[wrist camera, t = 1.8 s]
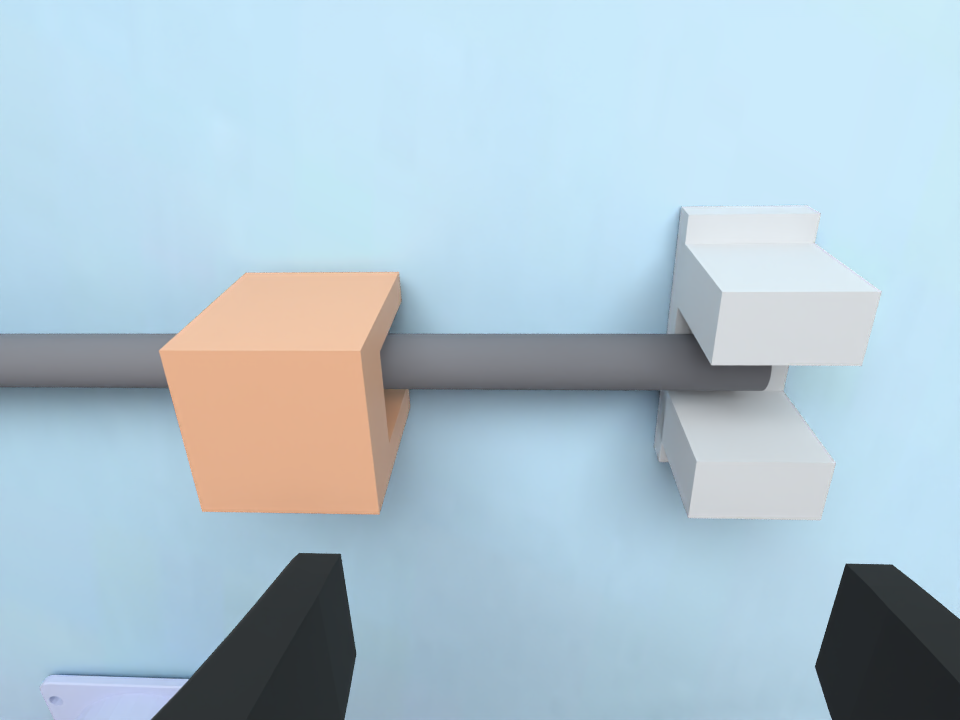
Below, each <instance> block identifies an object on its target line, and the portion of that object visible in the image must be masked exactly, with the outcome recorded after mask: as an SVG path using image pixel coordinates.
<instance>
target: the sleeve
mask: <svg viewBox="0 0 960 720" xmlns="http://www.w3.org/2000/svg"><path fill="white" fill-rule="evenodd" d="M400 304H401V289H400V277H399V272H301V273H245V274H244V275H243V276H242V277H240V278H239V279H238V280H237V281H236V282H235V283H234V284H233V285H231V286H230V287H229V288H228V289H227V290H226V291H225V292H224V293H223V294H221V295H220V296H219V297H218V298H217V299H216V300H215V301H214V302H212V303H211V304H210V305H209V306H208V307H207V308H206V309H205V310H204V311H202V312H201V313H200V314H199V315H198V316H197V317H196V318H195V319H193V320H192V321H191V322H190V323H189V324H188V325H187V326H186V327H185V328H183V329H182V330H181V331H180V332H179V333H178V334H177V335H176V336H174V337H173V338H172V339H171V340H170V341H169V342H168V343H167V344H165V345H164V346H163V347H162V348H161V349H160V350H159V353H160V357H161V360H162V364H163V368H164V372H165V375H166V379H167V383H168V386H169V390H170V394H171V397H172V401H173V405H174V409H175V412H176V416H177V420H178V423H179V427H180V431H181V435H182V438H183V442H184V446H185V449H186V453H187V457H188V460H189V464H190V468H191V472H192V475H193V479H194V483H195V486H196V490H197V494H198V497H199V501H200V505H201V509H202V512H261V513H322V514H380V511H381V507H382V504H383V500H384V497H385V493H386V490H387V486H388V483H389V479H390V476H391V472H392V469H393V465H394V462H395V458H396V455H397V451H398V448H399V444H400V441H401V437H402V434H403V430H404V427H405V424H406V420H407V417H408V413H409V410H410V398H409V389H384V388H383V378H382V369H381V359H380V350H381V348H382V345H383V343H384V341H385V338H386V336H387V334H388V331H389V329H390V327H391V324H392V322H393V320H394V318H395V315H396V313H397V311H398V308H399V306H400Z"/></svg>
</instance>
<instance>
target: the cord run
mask: <svg viewBox="0 0 960 720" xmlns="http://www.w3.org/2000/svg"><path fill="white" fill-rule="evenodd" d="M820 216H821V213H819V212H818V211H816V210H814V209H813V208H811V207H809V206H808V205H781V206H687V207H681V212H680V221H679V230H678V239H677V247H676V256H675V265H674V274H673V282H672V291H671V300H670V309H669V317H668V326H667V334H387V336H386V338H385V341H384V343H383V345H382V348H381V350H380V359H381V369H382V378H383V388H384V389H483V390H660V396H659V405H658V414H657V422H656V431H655V440H654V448H655V451H656V454H657V457H658V460H659V462H669V464H670V467H671V470H672V473H673V476H674V479H675V481H676V484H677V487H678V490H679V493H680V496H681V499H682V502H683V505H684V507H685V510H686V513H687V516H688V518H716V519H778V520H821V517H822V513H823V509H824V506H825V502H826V498H827V494H828V491H829V487H830V483H831V479H832V476H833V472H834V468H835V464H836V462H835V461H834V460H833V458H832V457H831V456H830V454H829V453H828V452H827V450H826V449H825V447H824V446H823V445H822V443H821V442H820V441H819V439H818V438H817V436H816V435H815V434H814V432H813V431H812V430H811V428H810V427H809V425H808V424H807V423H806V421H805V420H804V419H803V417H802V416H801V415H800V413H799V412H798V410H797V409H796V408H795V406H794V405H793V404H792V402H791V401H790V399H789V398H788V397H787V395H786V394H785V393H784V386H785V382H786V377H787V372H788V367H789V365H802V366H862V363H863V360H864V356H865V352H866V348H867V345H868V341H869V337H870V333H871V330H872V326H873V322H874V318H875V315H876V311H877V307H878V303H879V300H880V296H881V292H882V291H880V290H879V289H877V288H876V287H875V286H873V285H872V284H871V283H869V282H868V281H866V280H865V279H864V278H862V277H861V276H859V275H858V274H857V273H855V272H854V271H853V270H851V269H850V268H848V267H847V266H846V265H844V264H843V263H842V262H840V261H839V260H837V259H836V258H835V257H833V256H832V255H830V254H829V253H828V252H826V251H825V250H824V249H822V248H821V247H819V246H818V245H817V244H815V239H816V235H817V230H818V225H819V220H820ZM176 335H177V334H0V387H101V388H169V386H168V383H167V379H166V375H165V372H164V368H163V364H162V360H161V357H160V353H159V350H160V349H161V348H162V347H163V346H164V345H165V344H167V343H168V342H169V341H170V340H171V339H172V338H173V337H174V336H176Z"/></svg>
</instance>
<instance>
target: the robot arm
mask: <svg viewBox="0 0 960 720" xmlns="http://www.w3.org/2000/svg"><path fill="white" fill-rule="evenodd" d="M355 658H356V649H355V642H354V636H353V630H352V623H351V617H350V610H349V604H348V598H347V591H346V585H345V579H344V572H343V566H342V559H341V554H315V553H299V554H298V555H296V556H295V557H294V558H293V559H292V560H291V561H290V563H289V564H288V565H287V566H286V567H285V569H284V570H283V571H282V572H281V573H280V575H279V576H278V577H277V578H276V580H275V581H274V582H273V583H272V584H271V586H270V587H269V588H268V589H267V590H266V592H265V593H264V594H263V595H262V596H261V598H260V599H259V600H258V601H257V602H256V604H255V605H254V606H253V607H252V608H251V609H250V611H249V612H248V613H247V614H246V615H245V616H244V618H243V619H242V620H241V621H240V622H239V624H238V625H237V626H236V627H235V628H234V629H233V631H232V632H231V633H230V634H229V635H228V636H227V637H226V639H225V640H224V641H223V642H222V643H221V644H220V645H219V646H218V647H217V649H216V650H215V651H214V652H213V653H212V654H211V655H210V656H209V658H208V659H207V660H206V661H205V662H204V663H203V664H202V665H201V667H200V668H199V669H198V670H197V671H196V672H195V673H194V674H193V675H192V677H191V678H190V679H173V678H141V677H109V676H77V675H50V676H48V677H46V678H45V679H44V681H43V682H42V684H41V685H40V691H41V694H42V696H43V698H44V700H45V702H46V704H47V706H48V708H49V710H50V712H51V714H52V716H53V718H54V720H344V718H345V713H346V708H347V703H348V698H349V692H350V687H351V681H352V675H353V670H354V664H355ZM815 668H816V671H817V675H818V678H819V681H820V684H821V687H822V690H823V694H824V697H825V700H826V703H827V706H828V709H829V712H830V715H831V718H832V720H960V619H959V618H958V617H956V616H955V615H954V614H953V613H952V612H950V611H949V610H948V609H947V608H946V607H944V606H943V605H942V604H941V603H939V602H938V601H937V600H936V599H935V598H933V597H932V596H931V595H930V594H928V593H927V592H926V591H925V590H924V589H922V588H921V587H920V586H919V585H917V584H916V583H915V582H914V581H912V580H911V579H910V578H909V577H907V576H906V575H905V574H903V573H902V572H901V571H900V570H898V569H897V568H896V567H894V566H893V565H884V564H846V565H845V568H844V571H843V575H842V578H841V581H840V585H839V588H838V591H837V595H836V598H835V601H834V605H833V608H832V612H831V615H830V618H829V622H828V625H827V628H826V632H825V635H824V638H823V642H822V645H821V648H820V652H819V655H818V658H817V662H816V665H815Z"/></svg>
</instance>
